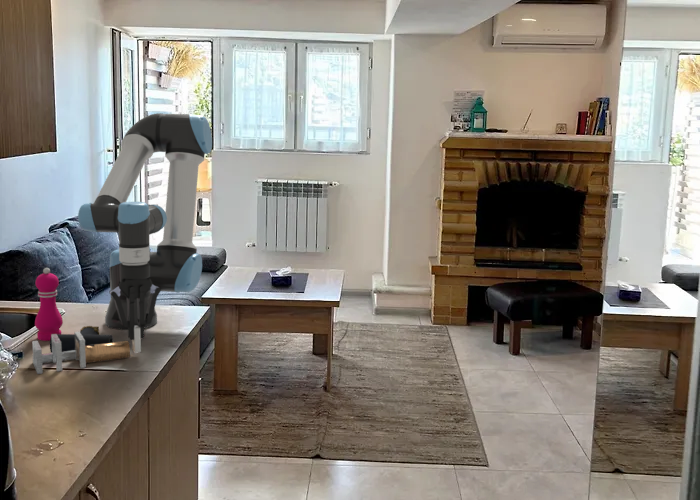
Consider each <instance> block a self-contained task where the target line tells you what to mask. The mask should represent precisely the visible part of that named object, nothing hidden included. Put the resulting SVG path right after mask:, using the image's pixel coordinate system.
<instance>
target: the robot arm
mask: <svg viewBox="0 0 700 500" xmlns="http://www.w3.org/2000/svg"><path fill="white" fill-rule="evenodd" d="M120 144H121V150H120V151H119V154H118V156H117V158H116V160H114V161H115V162H114V163H113V166H112V167H111V169H110V171H109V173H108V175H107V177H106V179H105V181H104V182H103V185H102V187H101V189H100V190H99V192H98V194H97V197H96V198H95V200H94V201H93V203H92V202H88V203H83V204H82V205H81V206H80V207H79V210H78V213H77V215H78V216H77V220H78V223H79V227H80V228H81V229H82V230H83V231H85V232H93V233H115V234H116V233H118V247H119V248H118V249H115V250H113V251H112V252H111V253H110V254H109V265H108V268H109V281H110V282H109V285H110V290H109V291H108V293H109V296H110V300H109V302H108V306H107V311H106V312H105V313H106V314H105V316H104V317H105V318H104V321H105V323H104V325H105V326H106V327H108V328H110V329H115V330H127V334H128V335H127V336H128V339H129V340H130V341H131V342H132V344H131V345H132V351H133V352H134V353H136V354H137V353H141V352H142V344H141V341H142V339H144V338H145V328H149V327H153V326H154V325H156V324H157V323H158V315H157V314H158V313H157V311H156V303H157V298H158V296H159V295H160V293H161V292H168V293H169V292H170V293H191V292H192V291H194V290H195V289H196V287H197V286H198V283H199V282H200V278H201V277H202V271H203V257H202V255H201V254H199V253H197V251H198V248H197V246H195V244H194V243H193V239H194V238H193V237H194V224H195V212H196V201H197V190H198V176H199V167H200V164H202V163H203V162H204V161H205V155H208V154H210V153H211V151H212V147H213V137H212V129H211V127H210V124H209V121H208V119H207V117H206V116H204V115H202V114H201V115H200V114H192V113H189V114H188V113H159V112H157V113H153V114H149V115H147V116H145V117H143V118H141V119H140V120H138V121H136V122H135V123H133V125H131V127H130V128H129V129H128V130H127V131H126V133H125V134H124V136H123V138H122V140H121V143H120ZM159 152H161V153H164V154H165V158H166V159H167V161H168V162H169V167H168V168H169V169H168V179H167V189H166V190H167V191H166V201H165V210H164V209H163V207H161V206H160V205H158V204H148V203H147V202H145V201H144V202H143V201H128V200H129V197H130V195H131V192H132V190H133V189H134V186H135V184H136V182H137V179H138V178H139V176H140V174H141V172H142V169H143V167H144V165H145V163H146V161H147V160H149V159H151V158H152V156H153V154H155V153H159ZM162 229H163V237H162V241H161V242H159V243H158V244H157V246H156V251H151V248H150V245H151V244H150V236H151V235H152V234H156V233H158V232H159V231H161V230H162Z"/></svg>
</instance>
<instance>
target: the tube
mask: <svg viewBox="0 0 700 500" xmlns="http://www.w3.org/2000/svg"><path fill="white" fill-rule="evenodd" d="M78 354H79V349H78ZM130 357H131V348H130V342H129V340H123V341H115V342H114V341H113V343H105V344H96V345H94V344H91V345H87V346H85V358H86V364H91V363H97V362H105V361H113V360H121V359H122V360H123V359H129V358H130ZM78 361H79V362H80V354H79V360H78Z"/></svg>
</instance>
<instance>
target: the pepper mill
mask: <svg viewBox="0 0 700 500" xmlns="http://www.w3.org/2000/svg"><path fill="white" fill-rule="evenodd" d="M42 272H43V273H41V274H39V275H38V276H36V279H35V282H34V283H35V286H36V288H37V289H38V291H37V294H38V295H37V297H38V298H39V303H40V304H39V305H40V306H39V310H38V311H37V314H36V316H35V320H34V326H35V327H36V329H37V330H38V331H37V334H36V335H37V337H36V338H37V339H38V340H39V341H43V342H44V341H45V342H47V341H49V342H50V339H51V334H62V330H61V329H60V328H61V327H62V326H63V324H64V321H63V316H62V314H61V313H60V311H59V308H58V306H57V302H56V297H57V296H58V290H57V288H58V286H60V283H59V282H60V281H59V278H58V276H57V275H55V274H54V273H51V269H50V268H49V267H44V268H43V270H42Z"/></svg>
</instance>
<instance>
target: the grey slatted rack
mask: <svg viewBox="0 0 700 500" xmlns="http://www.w3.org/2000/svg"><path fill="white" fill-rule="evenodd" d="M73 334H74V335H75V350H72V351H63V352H62V349H61V341H60V339H59V338H58V336H57V334H51V336H52V353H51V352H48V353H47V352H46V353H43V350H42V348H41V345H40V343H39V341H38V340H32V342H31V343H32V344H31V345H32V365H33V366H34V369H35V372H36V374H37V375H41V374H44V372H43V364H46V362H47V363H53V364H55V366H56V367H55V368H56V372H63V361H69V360H71V361H72V360H76V361H79V354H80V361H79V368H80V369H86V368H87V366H86V364H87V363H86V358H85V339H84V338H83V336H82V335H81V333H80V331H74V333H73ZM78 349H79V354H78Z"/></svg>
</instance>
